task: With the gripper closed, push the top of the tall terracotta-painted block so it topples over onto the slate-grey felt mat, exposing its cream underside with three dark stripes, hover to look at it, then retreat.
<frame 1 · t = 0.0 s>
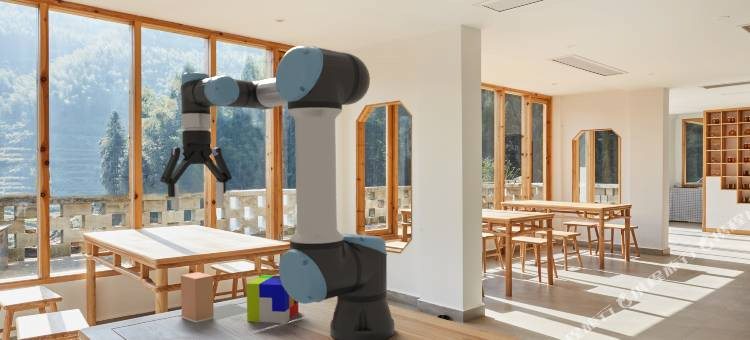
hand: (198, 207, 153), 28 cm above the table, fingers open, 13 cm apart
puzzle toy: (273, 319, 143), on the table
block: (197, 317, 143), resting on mat
mat: (216, 314, 147), on the table
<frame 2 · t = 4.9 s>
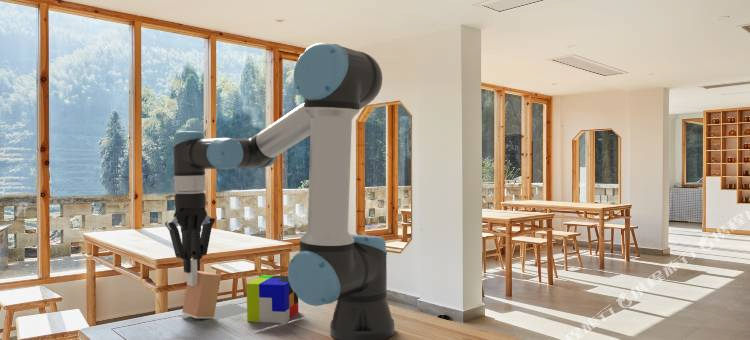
hand: (192, 284, 141), 9 cm above the table, fingers closed
block: (197, 315, 143), point 1 cm above the table, tilted 13°, touching mat
everything else where it was.
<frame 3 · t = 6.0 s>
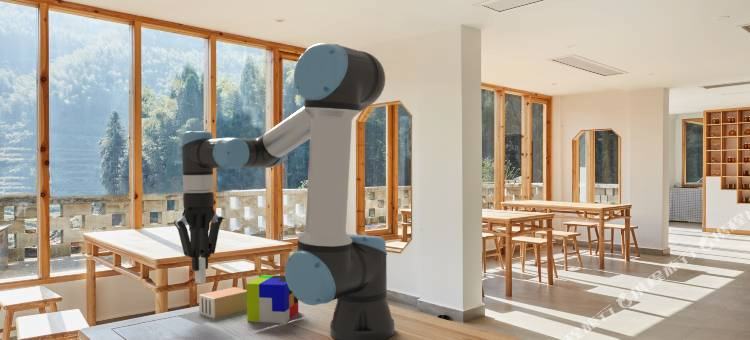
hand: (200, 282, 143), 9 cm above the table, fingers closed
block: (206, 306, 145), point 3 cm above the table, tilted 90°, touching mat
everything else where it was.
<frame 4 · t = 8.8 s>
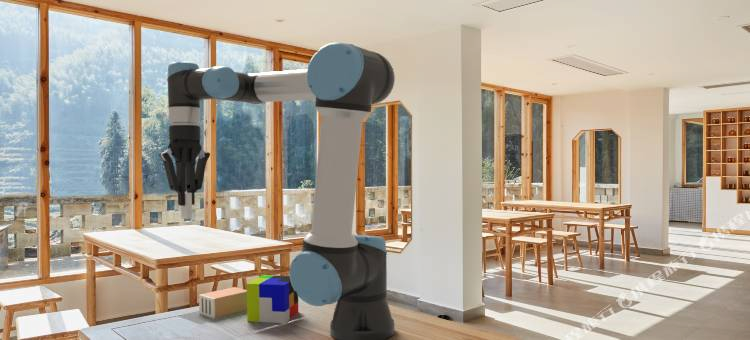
hand: (186, 218, 140), 26 cm above the table, fingers closed
nothing on the table moved.
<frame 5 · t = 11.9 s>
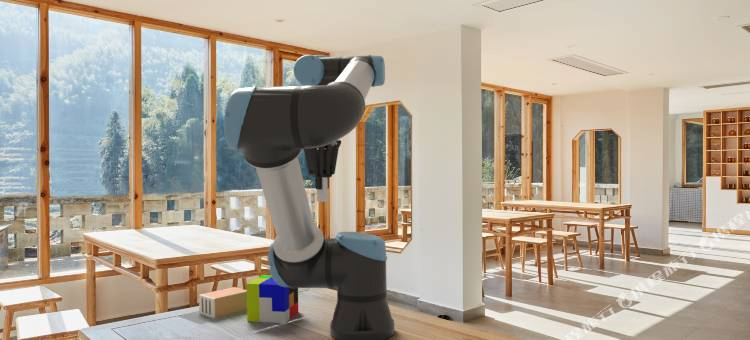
hand: (322, 201, 150), 29 cm above the table, fingers closed
nothing on the table moved.
at the end: block tilted 90°; block inside the target area (2.5 cm from its centre), point 2.9 cm above the table; the gripper is holding nothing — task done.
